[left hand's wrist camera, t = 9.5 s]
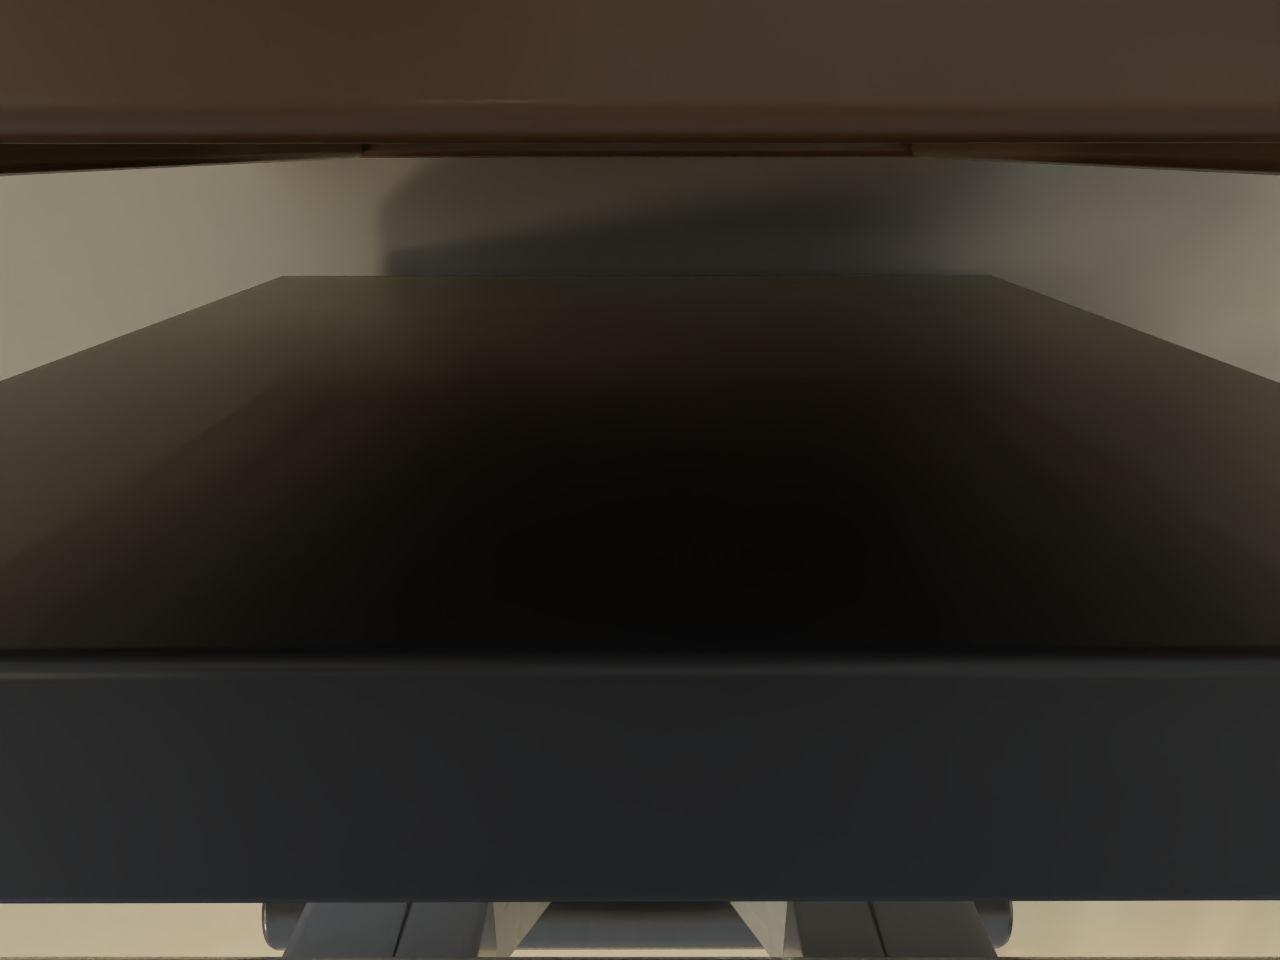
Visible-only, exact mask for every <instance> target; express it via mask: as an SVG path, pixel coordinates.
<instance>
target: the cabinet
mask: <svg viewBox="0 0 1280 960" xmlns="http://www.w3.org/2000/svg"><path fill="white" fill-rule="evenodd" d="M181 143H1280V0H0V144H181Z"/></svg>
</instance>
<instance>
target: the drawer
mask: <svg viewBox="0 0 1280 960" xmlns="http://www.w3.org/2000/svg"><path fill="white" fill-rule="evenodd" d="M701 157H919V158H937V159H958V160H978V161H998V162H1019V163H1039V164H1059V165H1080V166H1100V167H1120V168H1140V169H1161V170H1181V171H1201V172H1222V173H1242V174H1262V175H1280V143H181V144H0V176H9V175H29V174H49V173H68V172H88V171H108V170H128V169H148V168H167V167H187V166H207V165H227V164H247V163H266V162H286V161H306V160H326V159H346V158H701ZM1158 900H1280V383H1278V382H1275V381H1272V380H1270V379H1267V378H1264V377H1261V376H1259V375H1256V374H1253V373H1251V372H1248V371H1245V370H1243V369H1240V368H1237V367H1235V366H1232V365H1229V364H1227V363H1224V362H1221V361H1219V360H1216V359H1213V358H1211V357H1208V356H1205V355H1203V354H1200V353H1197V352H1194V351H1192V350H1189V349H1186V348H1184V347H1181V346H1178V345H1176V344H1173V343H1170V342H1168V341H1165V340H1162V339H1160V338H1157V337H1154V336H1152V335H1149V334H1146V333H1144V332H1141V331H1138V330H1136V329H1133V328H1130V327H1127V326H1125V325H1122V324H1119V323H1117V322H1114V321H1111V320H1109V319H1106V318H1103V317H1101V316H1098V315H1095V314H1093V313H1090V312H1087V311H1085V310H1082V309H1079V308H1077V307H1074V306H1071V305H1069V304H1066V303H1063V302H1060V301H1058V300H1055V299H1052V298H1050V297H1047V296H1044V295H1042V294H1039V293H1036V292H1034V291H1031V290H1028V289H1026V288H1023V287H1020V286H1018V285H1015V284H1012V283H1010V282H1007V281H1004V280H1002V279H999V278H996V277H993V276H991V275H957V276H282V277H279V278H276V279H274V280H271V281H268V282H266V283H263V284H260V285H258V286H255V287H252V288H250V289H247V290H244V291H242V292H239V293H236V294H233V295H231V296H228V297H225V298H223V299H220V300H217V301H215V302H212V303H209V304H207V305H204V306H201V307H199V308H196V309H193V310H191V311H188V312H185V313H183V314H180V315H177V316H174V317H172V318H169V319H166V320H164V321H161V322H158V323H156V324H153V325H150V326H148V327H145V328H142V329H140V330H137V331H134V332H132V333H129V334H126V335H124V336H121V337H118V338H115V339H113V340H110V341H107V342H105V343H102V344H99V345H97V346H94V347H91V348H89V349H86V350H83V351H81V352H78V353H75V354H73V355H70V356H67V357H65V358H62V359H59V360H56V361H54V362H51V363H48V364H46V365H43V366H40V367H38V368H35V369H32V370H30V371H27V372H24V373H22V374H19V375H16V376H14V377H11V378H8V379H6V380H3V381H0V903H263V905H262V927H263V934H264V937H265V940H266V943H267V944H268V945H269V946H270V947H271V948H273V949H275V950H286V947H287V945H288V943H289V941H290V939H291V936H292V934H293V932H294V930H295V927H296V925H297V923H298V921H299V918H300V916H301V914H302V912H303V909H304V907H305V905H306V903H362V902H551V903H550V904H549V905H548V907H547V908H546V909H545V911H544V912H543V913H542V915H541V916H540V917H539V919H538V920H537V921H536V922H535V924H534V925H533V926H532V928H531V929H530V930H529V932H528V933H527V934H526V936H525V937H524V938H523V940H522V941H521V942H520V944H519V945H518V946H517V948H516V949H515V950H586V949H765V948H764V947H763V946H762V944H761V943H760V942H759V940H758V939H757V938H756V936H755V935H754V934H753V932H752V931H751V930H750V928H749V927H748V926H747V924H746V923H745V922H744V920H743V919H742V918H741V916H740V915H739V914H738V912H737V911H736V910H735V908H734V907H733V906H732V904H731V903H730V902H760V901H973V902H974V904H975V907H976V909H977V911H978V914H979V916H980V918H981V920H982V923H983V925H984V927H985V929H986V932H987V934H988V936H989V938H990V941H991V943H992V945H993V948H1000V947H1002V946H1004V945H1005V944H1006V943H1007V942H1008V940H1009V938H1010V935H1011V930H1012V922H1013V907H1012V901H1158Z"/></svg>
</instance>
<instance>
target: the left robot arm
mask: <svg viewBox="0 0 1280 960" xmlns="http://www.w3.org/2000/svg"><path fill="white" fill-rule="evenodd" d="M550 903H551V902H362V903H306V905H305V907H304V909H303V912H302V914H301V916H300V918H299V921H298V923H297V925H296V927H295V930H294V932H293V934H292V936H291V939H290V941H289V943H288V945H287V947H286V950H285V952H284V954H283V956H282V957H0V960H1280V957H997V954H996V952H995V950H994V948H993V945H992V943H991V941H990V938H989V936H988V934H987V932H986V929H985V927H984V925H983V923H982V920H981V918H980V916H979V914H978V911H977V909H976V907H975V904H974V902H973V901H760V902H730V903H731V904H732V906H733V907H734V908H735V910H736V911H737V912H738V914H739V915H740V916H741V918H742V919H743V920H744V922H745V923H746V924H747V926H748V927H749V928H750V930H751V931H752V932H753V934H754V935H755V936H756V938H757V939H758V940H759V942H760V943H761V944H762V946H763V947H764V948H765V950H766V951H767V952H768V954H769V955H770V956H771V957H510V955H511V954H512V953H513V952H514V950H515V949H516V948H517V946H518V945H519V944H520V942H521V941H522V940H523V938H524V937H525V936H526V934H527V933H528V932H529V930H530V929H531V928H532V926H533V925H534V924H535V922H536V921H537V920H538V919H539V917H540V916H541V915H542V913H543V912H544V911H545V909H546V908H547V907H548V905H549V904H550Z"/></svg>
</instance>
